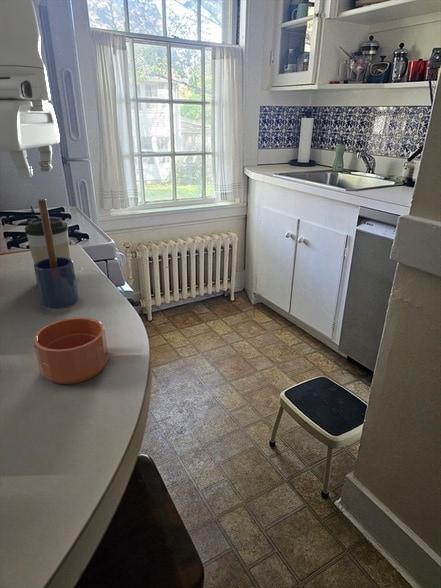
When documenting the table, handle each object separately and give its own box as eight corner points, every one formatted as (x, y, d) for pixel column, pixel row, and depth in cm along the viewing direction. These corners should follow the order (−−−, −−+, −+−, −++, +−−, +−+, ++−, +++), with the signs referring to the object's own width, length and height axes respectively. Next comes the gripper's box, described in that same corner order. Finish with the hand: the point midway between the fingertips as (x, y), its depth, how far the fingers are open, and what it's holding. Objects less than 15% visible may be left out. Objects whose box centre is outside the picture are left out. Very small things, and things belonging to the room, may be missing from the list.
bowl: (30, 387, 57) (21, 351, 54) (54, 349, 66) (48, 317, 63) (99, 385, 57) (94, 350, 55) (114, 348, 66) (110, 316, 64)
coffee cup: (37, 276, 96) (25, 216, 89) (76, 272, 98) (67, 213, 92) (34, 291, 88) (20, 225, 82) (76, 286, 90) (66, 222, 84)
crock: (36, 311, 79) (27, 269, 75) (49, 296, 85) (42, 257, 82) (72, 310, 79) (65, 269, 75) (83, 295, 86) (76, 256, 82)
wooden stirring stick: (54, 303, 80) (34, 201, 72) (59, 297, 83) (40, 198, 75) (61, 303, 81) (42, 201, 72) (66, 297, 83) (48, 197, 75)
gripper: (27, 92, 75) (41, 167, 81) (-32, 84, 56) (-8, 183, 62) (60, 92, 75) (72, 167, 81) (12, 84, 57) (32, 182, 62)
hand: (37, 174), depth 71 cm, fingers open, 8 cm apart
